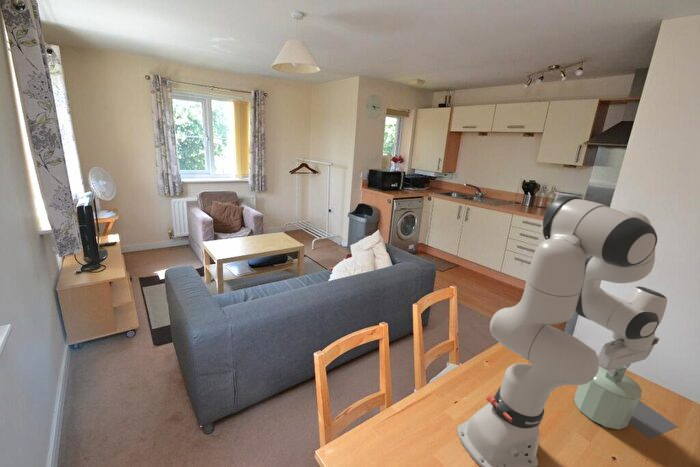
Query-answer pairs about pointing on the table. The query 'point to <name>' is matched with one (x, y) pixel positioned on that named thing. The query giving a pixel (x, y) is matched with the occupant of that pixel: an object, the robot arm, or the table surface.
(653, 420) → the slate mat
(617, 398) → the cloche
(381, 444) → the table surface
